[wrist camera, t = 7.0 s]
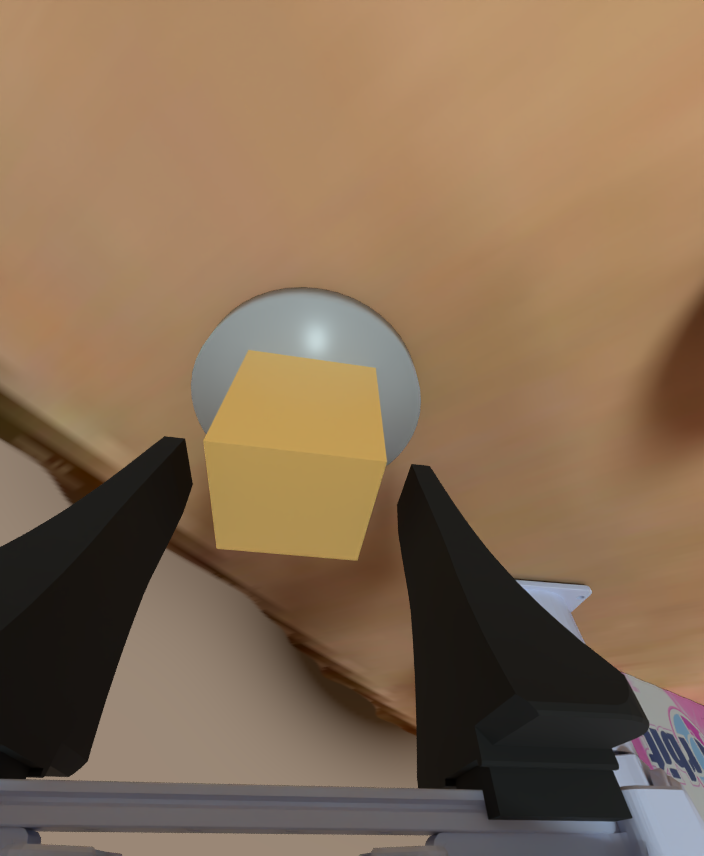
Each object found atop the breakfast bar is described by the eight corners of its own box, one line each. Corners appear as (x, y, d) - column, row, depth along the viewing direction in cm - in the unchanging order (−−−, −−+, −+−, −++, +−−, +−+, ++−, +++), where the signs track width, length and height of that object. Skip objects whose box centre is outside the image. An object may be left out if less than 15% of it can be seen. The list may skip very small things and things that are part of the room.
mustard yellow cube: (355, 458, 16) (357, 560, 12) (250, 446, 16) (216, 548, 12) (375, 367, 13) (386, 462, 9) (248, 349, 13) (203, 441, 9)
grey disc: (390, 479, 19) (399, 551, 15) (211, 460, 18) (179, 533, 14) (444, 307, 13) (476, 362, 10) (188, 268, 12) (128, 313, 9)
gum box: (714, 706, 43) (834, 891, 32) (648, 722, 47) (736, 891, 36) (603, 662, 34) (717, 896, 24) (533, 686, 38) (605, 895, 28)
